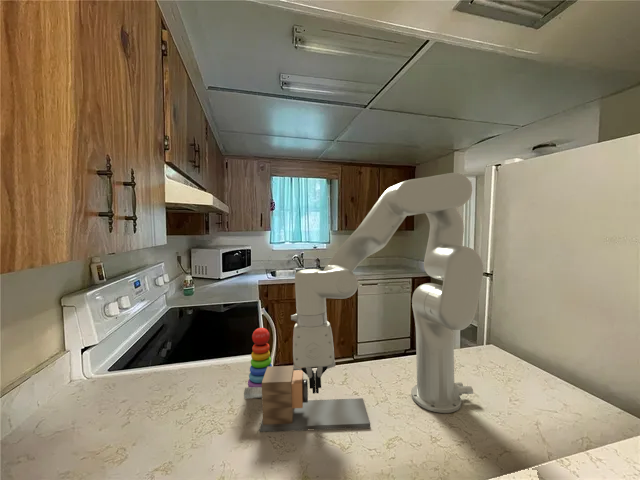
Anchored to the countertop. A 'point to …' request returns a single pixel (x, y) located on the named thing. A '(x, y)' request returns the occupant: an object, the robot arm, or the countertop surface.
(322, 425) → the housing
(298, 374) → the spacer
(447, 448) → the countertop surface
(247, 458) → the countertop surface
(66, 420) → the countertop surface
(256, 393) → the shaft
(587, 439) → the countertop surface
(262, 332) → the stacking toy
